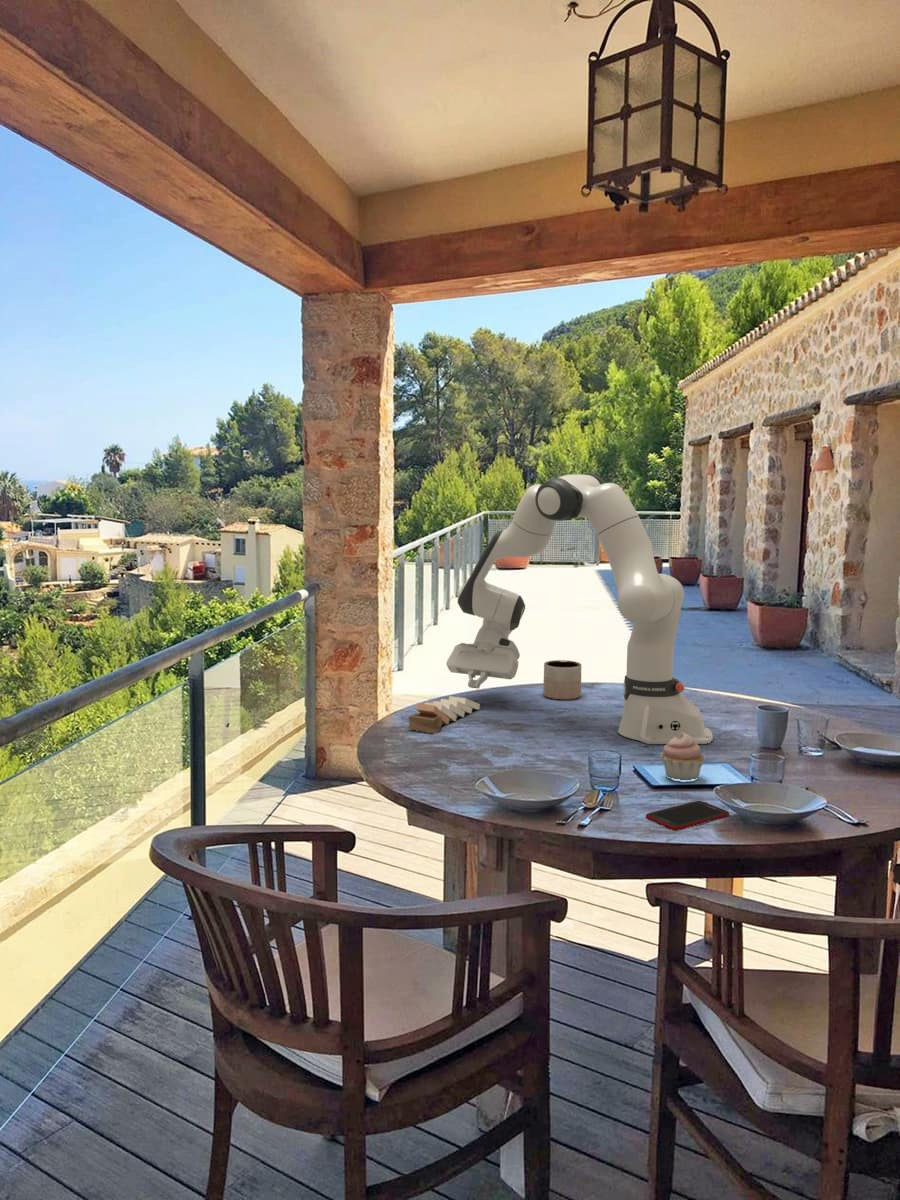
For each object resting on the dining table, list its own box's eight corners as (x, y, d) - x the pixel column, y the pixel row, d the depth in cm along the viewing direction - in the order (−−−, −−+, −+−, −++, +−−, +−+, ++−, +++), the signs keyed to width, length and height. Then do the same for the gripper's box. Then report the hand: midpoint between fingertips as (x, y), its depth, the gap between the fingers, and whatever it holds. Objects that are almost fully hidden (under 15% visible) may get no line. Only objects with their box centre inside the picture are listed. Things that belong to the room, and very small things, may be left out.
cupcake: (654, 770, 192) (656, 725, 191) (698, 771, 192) (700, 726, 191) (663, 785, 183) (665, 737, 182) (709, 786, 183) (711, 738, 182)
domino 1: (432, 716, 231) (417, 703, 224) (449, 719, 229) (435, 705, 221) (430, 722, 230) (416, 709, 223) (447, 724, 228) (433, 711, 221)
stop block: (417, 726, 226) (417, 712, 226) (441, 730, 223) (441, 716, 223) (409, 730, 223) (409, 716, 222) (433, 734, 220) (433, 720, 219)
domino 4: (455, 705, 242) (440, 698, 234) (472, 708, 239) (457, 700, 232) (454, 711, 241) (439, 704, 234) (471, 713, 239) (456, 706, 231)
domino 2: (440, 713, 234) (425, 702, 227) (457, 715, 232) (442, 704, 224) (438, 719, 234) (423, 708, 226) (455, 721, 231) (440, 710, 224)
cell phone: (643, 819, 166) (643, 814, 166) (699, 804, 173) (699, 799, 173) (674, 833, 159) (674, 827, 159) (731, 817, 167) (731, 812, 167)
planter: (583, 701, 254) (584, 667, 253) (544, 700, 254) (545, 667, 253) (578, 692, 265) (579, 660, 263) (541, 691, 265) (542, 659, 264)
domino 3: (448, 709, 238) (433, 701, 231) (465, 711, 236) (450, 703, 228) (447, 715, 238) (431, 707, 230) (463, 717, 235) (448, 709, 228)
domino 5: (463, 702, 246) (449, 696, 238) (480, 704, 243) (465, 698, 236) (462, 707, 245) (448, 702, 238) (479, 710, 243) (464, 704, 235)
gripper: (453, 636, 254) (435, 676, 247) (519, 642, 245) (503, 684, 237) (460, 649, 259) (443, 688, 252) (525, 655, 249) (510, 697, 242)
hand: (473, 686), depth 244 cm, fingers closed
